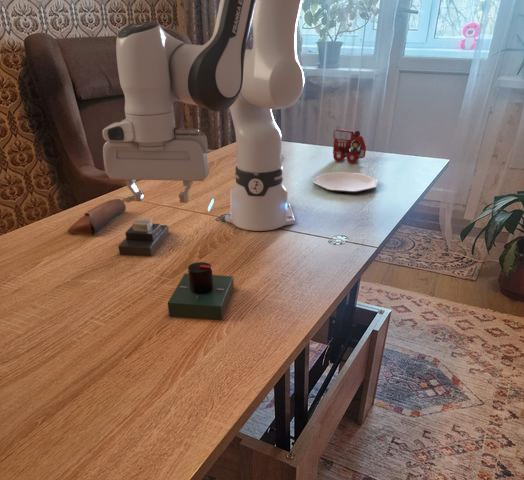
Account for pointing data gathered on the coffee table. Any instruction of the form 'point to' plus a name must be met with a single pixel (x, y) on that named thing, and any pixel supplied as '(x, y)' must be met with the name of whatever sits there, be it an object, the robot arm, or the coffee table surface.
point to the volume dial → (200, 277)
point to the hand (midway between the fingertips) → (161, 201)
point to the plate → (345, 182)
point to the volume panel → (201, 299)
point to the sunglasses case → (97, 218)
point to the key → (142, 225)
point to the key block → (143, 241)
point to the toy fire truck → (348, 146)
